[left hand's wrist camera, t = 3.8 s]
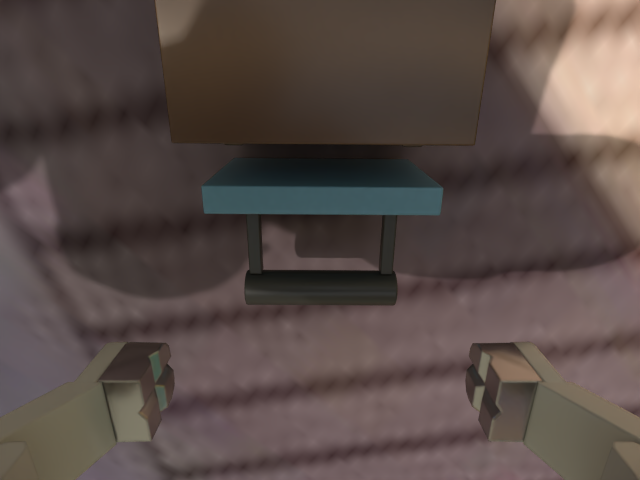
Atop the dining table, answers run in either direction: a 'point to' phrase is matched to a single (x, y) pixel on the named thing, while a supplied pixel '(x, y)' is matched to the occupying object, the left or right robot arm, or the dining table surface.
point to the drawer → (328, 199)
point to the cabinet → (324, 70)
